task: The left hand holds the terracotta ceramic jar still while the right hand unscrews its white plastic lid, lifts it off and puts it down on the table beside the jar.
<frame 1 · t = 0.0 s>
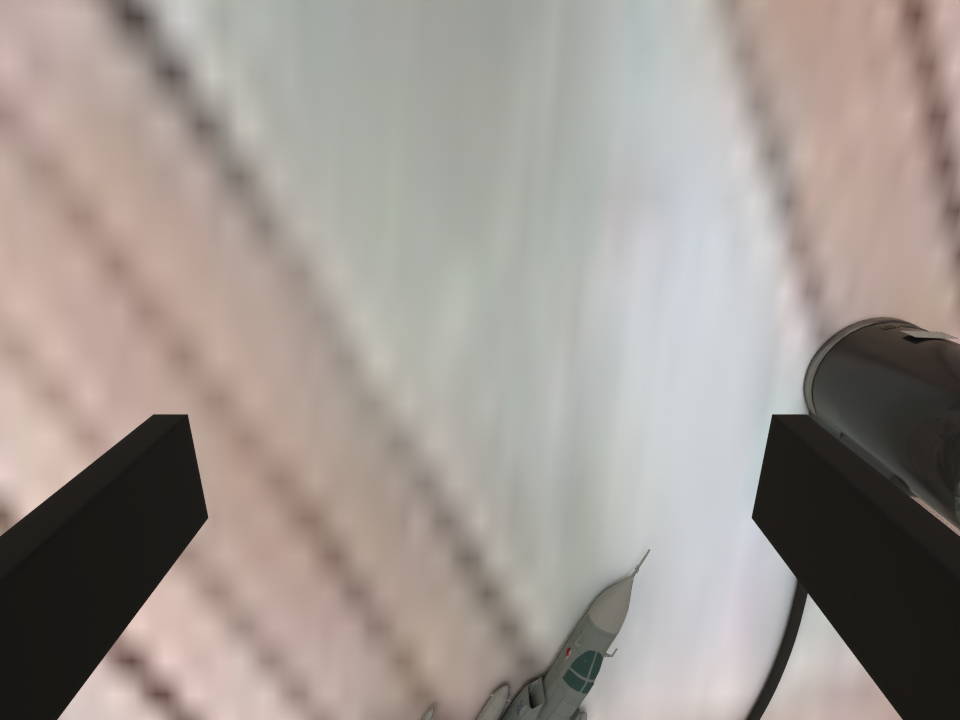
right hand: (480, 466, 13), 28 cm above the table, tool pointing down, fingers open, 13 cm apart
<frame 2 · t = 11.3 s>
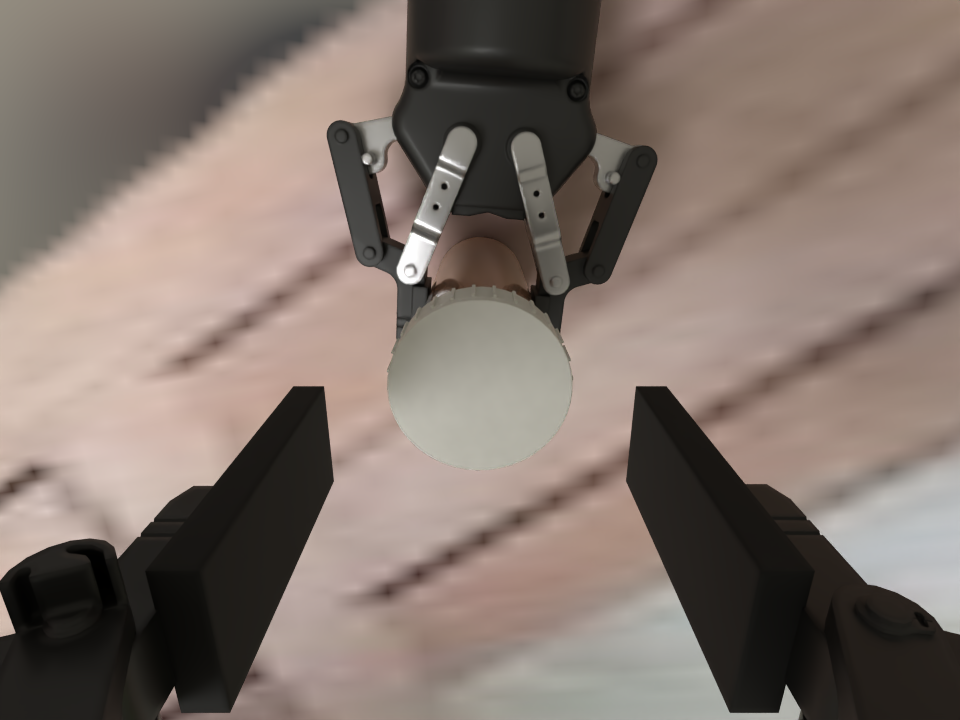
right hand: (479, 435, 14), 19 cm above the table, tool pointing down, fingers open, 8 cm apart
left hand: (476, 359, 27), fingers closed on jar, 5 cm apart
jar: (479, 279, 32), on the table, touching left hand
lid: (479, 385, 17), point 16 cm above the table, screwed on, not yet turned
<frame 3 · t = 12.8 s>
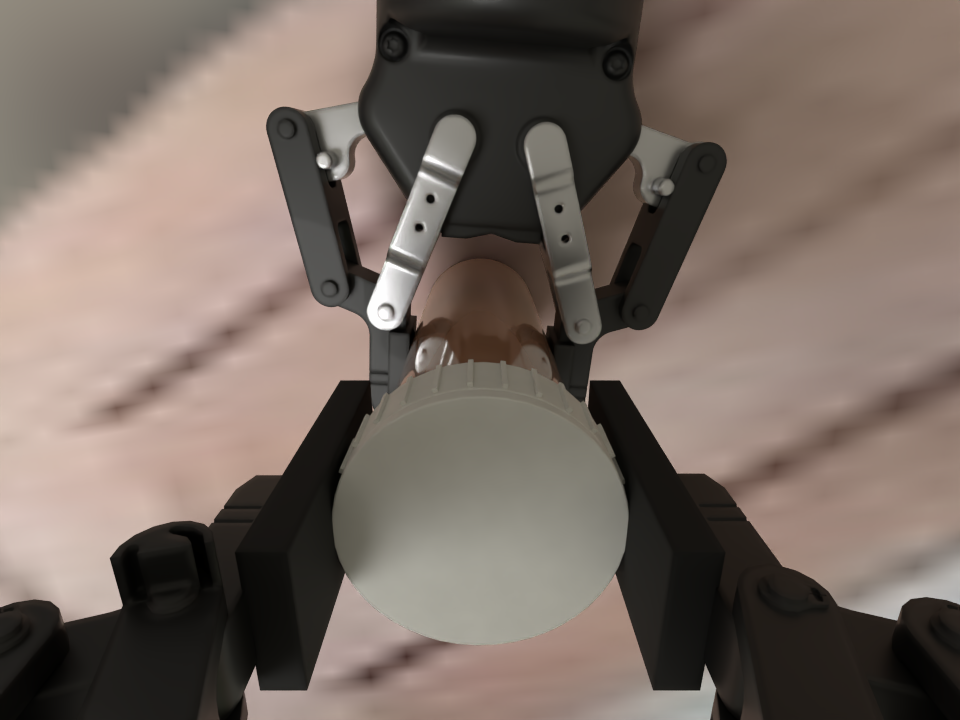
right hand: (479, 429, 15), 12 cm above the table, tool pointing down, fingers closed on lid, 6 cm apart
jar: (480, 310, 26), on the table, touching left hand
lid: (480, 521, 11), point 16 cm above the table, screwed on, not yet turned, touching right hand
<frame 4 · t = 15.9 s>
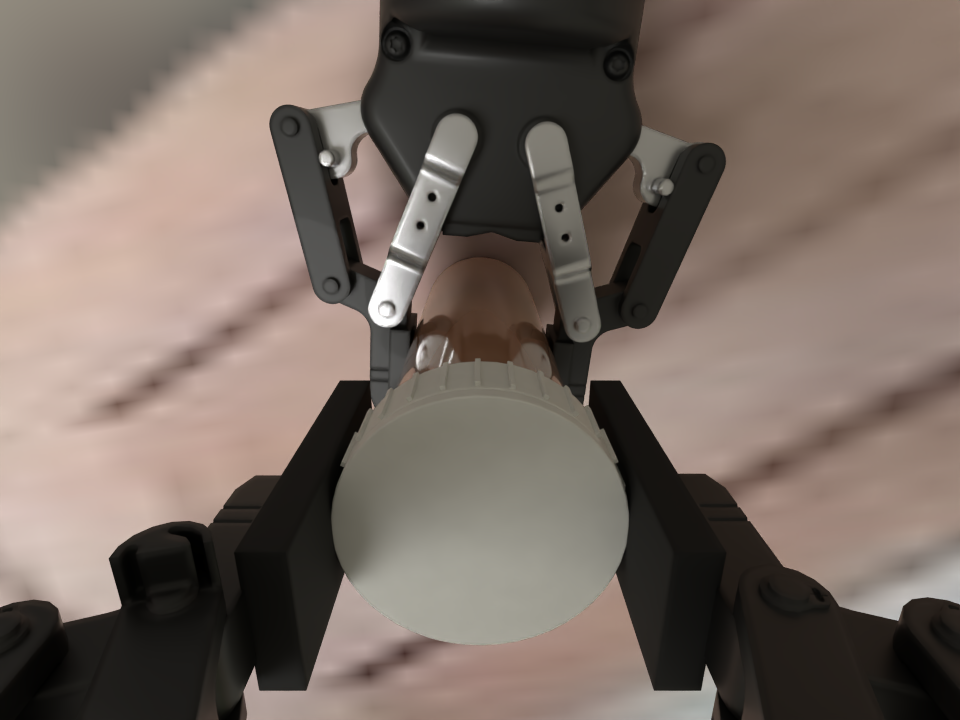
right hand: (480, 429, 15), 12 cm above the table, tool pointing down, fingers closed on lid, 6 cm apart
left hand: (475, 419, 21), fingers closed on jar, 5 cm apart
jar: (480, 309, 26), on the table, touching left hand
lid: (480, 521, 11), point 16 cm above the table, turned 100° so far, risen 0.2 cm, still on its thread, touching right hand
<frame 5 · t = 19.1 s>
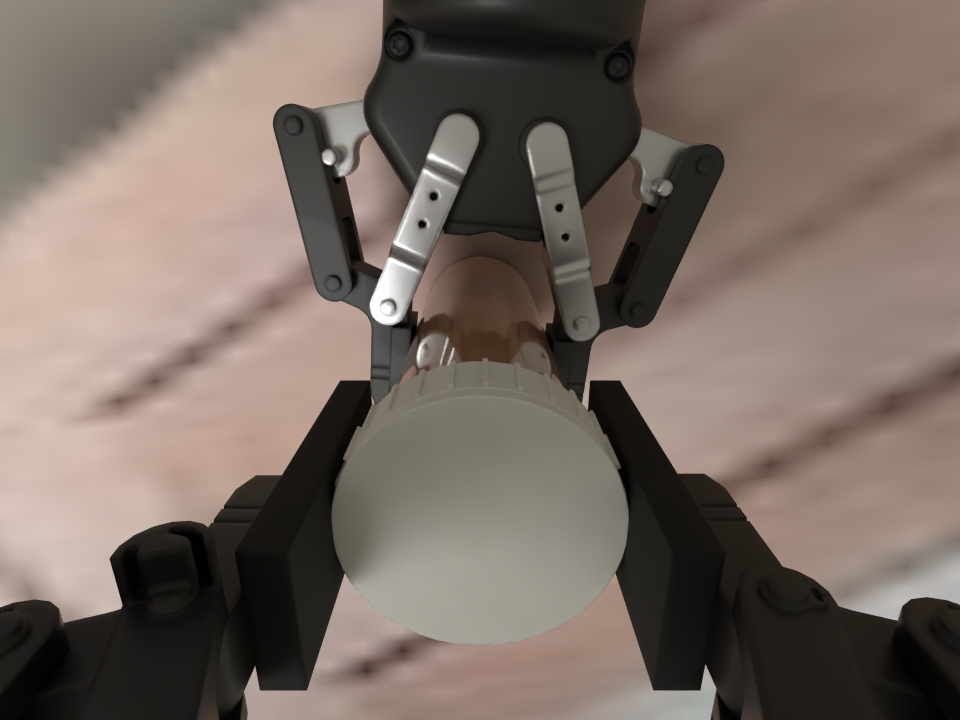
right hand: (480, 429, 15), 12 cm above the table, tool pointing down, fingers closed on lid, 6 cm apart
left hand: (474, 417, 21), fingers closed on jar, 5 cm apart
jar: (480, 308, 26), on the table, touching left hand
lid: (480, 521, 11), point 16 cm above the table, turned 201° so far, risen 0.4 cm, still on its thread, touching right hand
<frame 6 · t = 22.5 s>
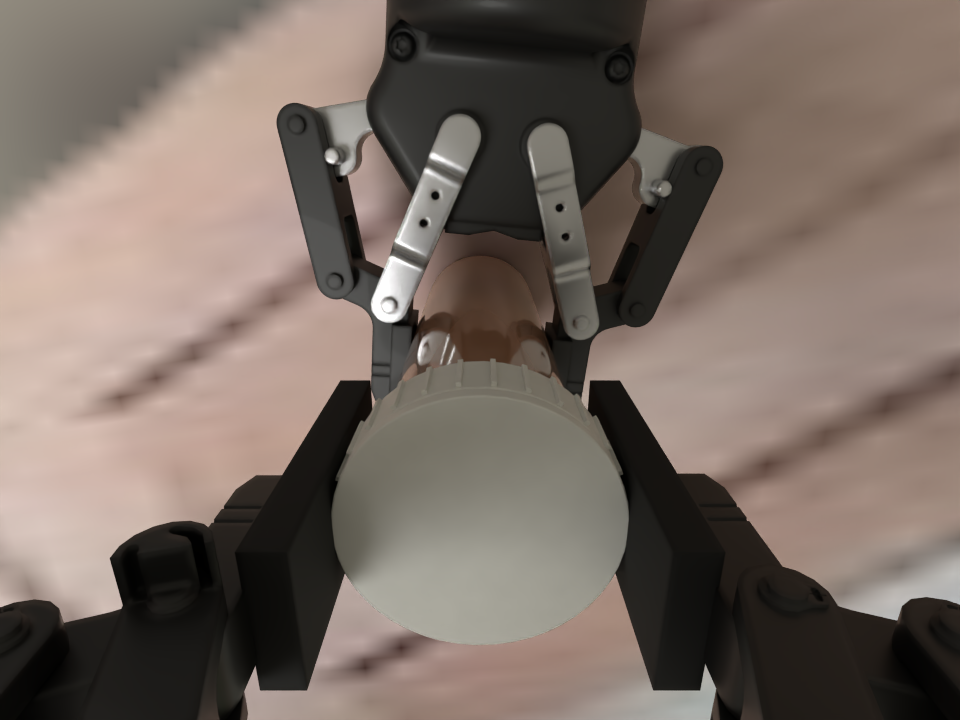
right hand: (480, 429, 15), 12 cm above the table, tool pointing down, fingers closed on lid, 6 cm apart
left hand: (474, 415, 21), fingers closed on jar, 5 cm apart
jar: (480, 307, 26), on the table, touching left hand
lid: (480, 521, 11), point 16 cm above the table, turned 301° so far, risen 0.5 cm, still on its thread, touching right hand
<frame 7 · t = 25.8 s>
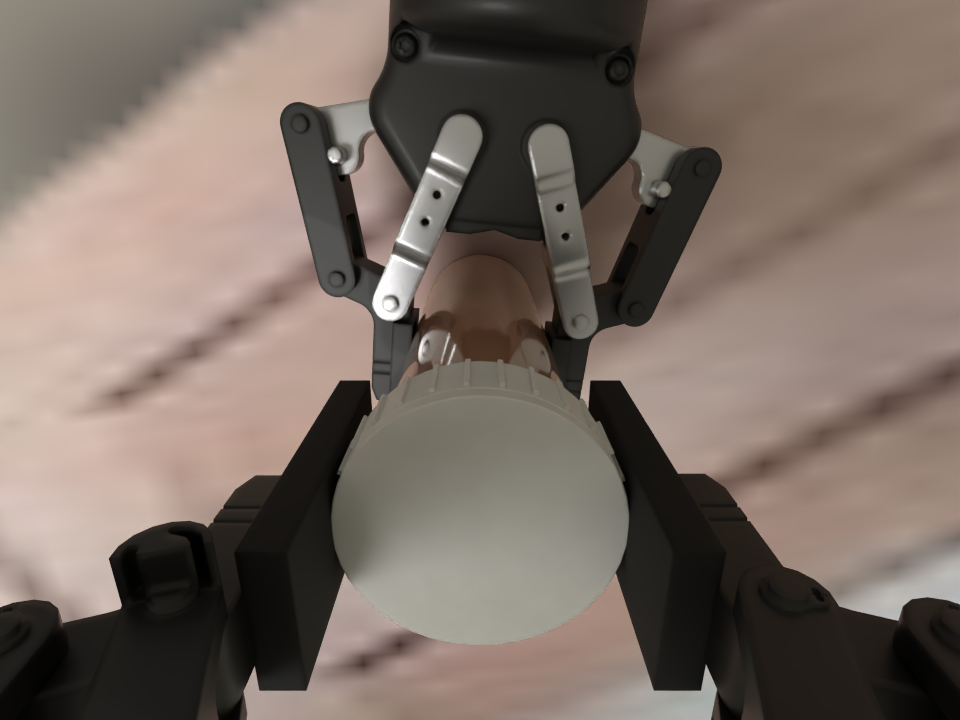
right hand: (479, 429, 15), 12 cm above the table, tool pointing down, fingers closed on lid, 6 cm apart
left hand: (474, 413, 21), fingers closed on jar, 5 cm apart
jar: (480, 306, 26), on the table, touching left hand
lid: (480, 521, 11), point 16 cm above the table, turned 401° so far, risen 0.7 cm, still on its thread, touching right hand
when the right hand's fingers open (0 cm above the table, at t = 32.5 s): lid drops 3 cm, point 1 cm above the table.
when the left hand's fingers open (6 cm above the table, at t = 33.1 s): jar stays where it is, on the table.
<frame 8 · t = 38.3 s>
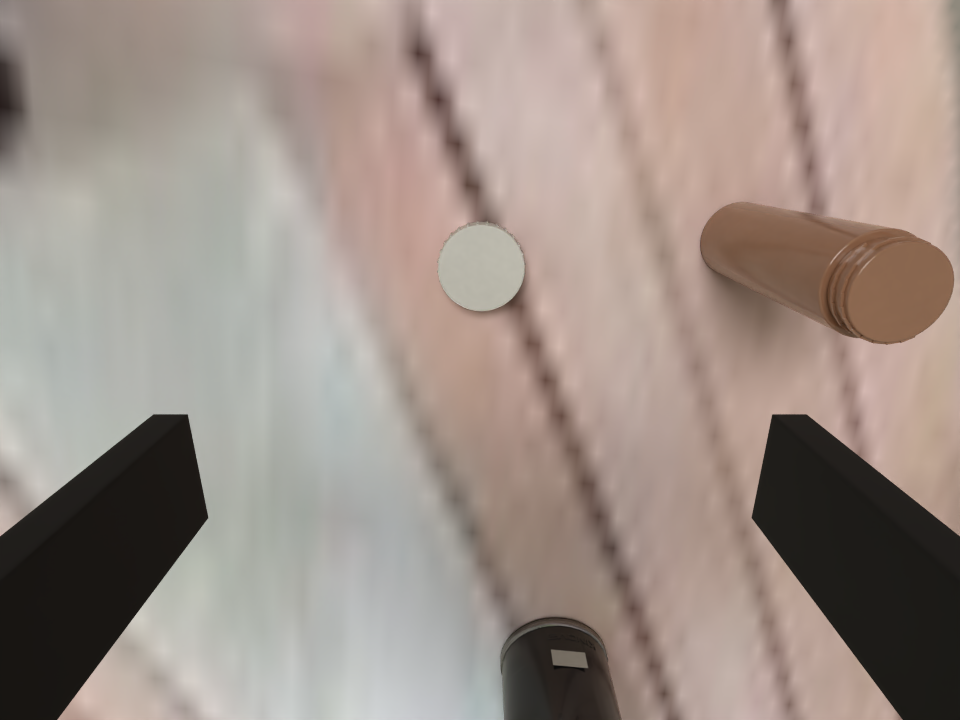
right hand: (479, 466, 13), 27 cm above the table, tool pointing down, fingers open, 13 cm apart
jar: (736, 239, 37), on the table
lid: (481, 268, 37), point 1 cm above the table, off its thread
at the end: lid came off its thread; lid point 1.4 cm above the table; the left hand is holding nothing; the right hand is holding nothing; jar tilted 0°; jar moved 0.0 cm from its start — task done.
